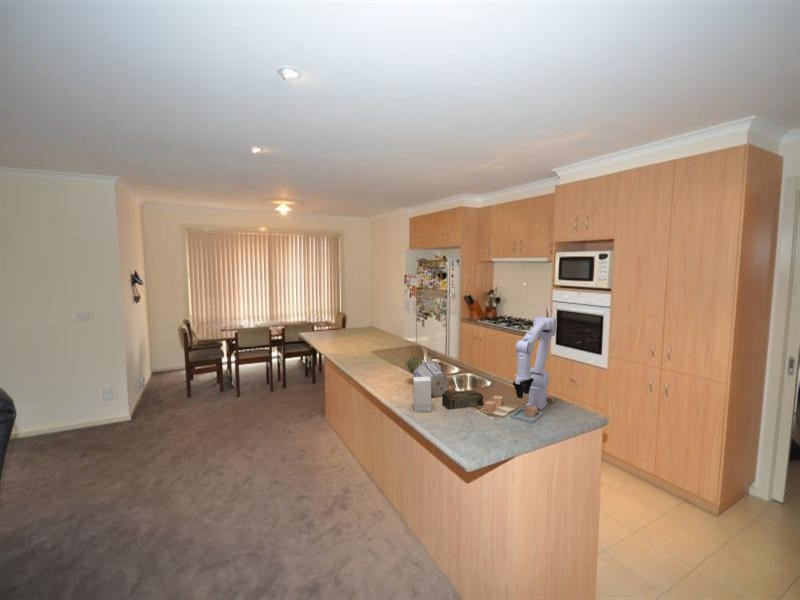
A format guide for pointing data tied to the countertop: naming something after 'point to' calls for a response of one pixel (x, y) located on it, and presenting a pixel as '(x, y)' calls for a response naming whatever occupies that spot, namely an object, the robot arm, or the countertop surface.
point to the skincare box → (422, 394)
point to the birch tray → (502, 410)
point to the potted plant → (430, 374)
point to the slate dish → (521, 416)
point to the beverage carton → (462, 399)
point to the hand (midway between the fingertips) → (523, 395)
